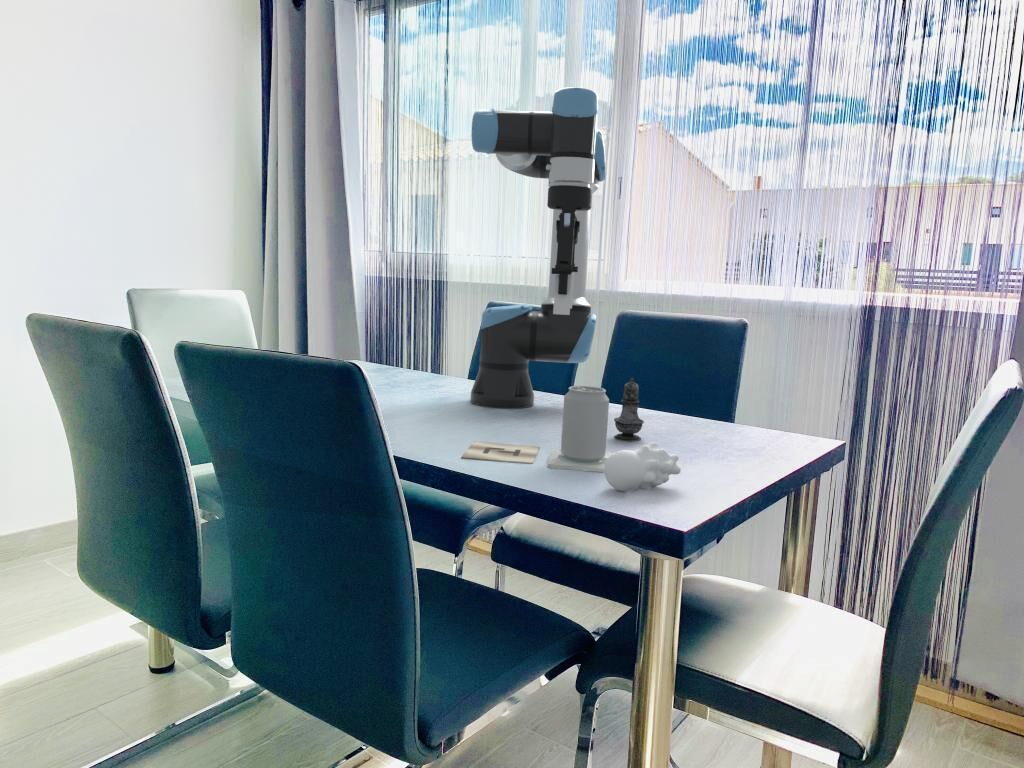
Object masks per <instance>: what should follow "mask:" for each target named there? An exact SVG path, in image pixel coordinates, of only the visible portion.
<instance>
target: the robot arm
mask: <svg viewBox="0 0 1024 768" xmlns="http://www.w3.org/2000/svg"><path fill="white" fill-rule="evenodd" d="M552 102H553V103H552V107H551V111H535V110H533V111H525V110H508V109H507V110H506V109H504V110H503V109H494V108H490V109H477V110H475V112H474V113H473V115H472V119H471V145H472V149H473V150H474V151H475V152H476V153H481V154H482V153H483V154H487V155H493V154H495V156H496V158H497V160H498V162H499V163H500V165H502V166H503V167H504V168H505V169H507V170H508V171H511V172H513V173H516V174H519V175H521V176H526V177H529V178H533V179H534V178H535V179H536V178H537V179H547V180H548V185H547V186H548V188H547V189H548V190H547V204H546V205H547V207H548V208H549V209H551V210H553V211H552V213H553V214H552V225H551V226H552V228H551V243H550V244H551V247H550V260H549V261H550V262H549V278H548V295H547V297H546V298H545V299H544V300H543V301H542V302H541V305H540V306H541V307H540V311H537V310H533V307H532V305H531V304H515V305H513V304H512V305H504V306H492V307H487V308H485V309H484V310H483V312H482V314H481V324H480V328H479V329H480V343H479V344H480V345H479V366H478V372H477V375H476V377H475V380H474V382H473V383H474V384H473V385H472V389H471V391H470V402H471V403H472V404H474V405H477V406H482V407H488V408H497V409H499V408H500V409H520V408H521V409H522V408H528V407H532V406H534V404H535V393H534V390H533V389H534V388H533V385H532V382H531V378H530V377H531V376H530V374H529V365H530V363H529V362H531V361H533V362H545V363H546V362H547V363H550V362H551V363H564V364H565V363H566V364H582V363H585V362H587V360H589V357H590V353H591V349H592V345H593V340H594V335H595V329H596V324H597V315H596V314H595V313H591V312H592V311H591V310H592V305H591V304H590V303H589V302H588V301H587V299H586V285H587V270H588V254H589V241H590V240H589V239H590V238H589V237H590V225H591V210H592V205H593V204H592V202H593V194H594V193H595V192H597V191H598V189H599V184H600V183H601V182H603V181H605V180H606V175H607V174H606V171H607V170H606V152H605V151H606V149H605V139H604V134H603V133H602V131H601V130H600V129H599V128H598V115H599V95H598V93H597V92H596V91H595V90H593V89H590V88H587V87H586V88H585V87H563V88H559V89H557V90H555V92H554V95H553V101H552Z"/></svg>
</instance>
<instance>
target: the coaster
mask: <svg viewBox="0 0 1024 768" xmlns="http://www.w3.org/2000/svg"><path fill="white" fill-rule="evenodd" d="M612 454H613V453H611V452H606V453H605V456H604V457H603V458H601V459H600V460H599V461H597V462H591V463H585V462H575V461H571V460H568V459H566V458H565V456H564V455H563V454H562V453H561V448H560V449H559V448H552V449H551V452H550V456H549V458H548V462H547V466H546V467H547V468H549V469H560V470H561V469H562V470H572V471H574V470H575V471H583V472H584V471H585V472H586V471H587V472H596V473H597V472H598V473H604V466H605V463H606V461H607V459H608V458H609V457H610V456H611V455H612Z"/></svg>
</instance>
